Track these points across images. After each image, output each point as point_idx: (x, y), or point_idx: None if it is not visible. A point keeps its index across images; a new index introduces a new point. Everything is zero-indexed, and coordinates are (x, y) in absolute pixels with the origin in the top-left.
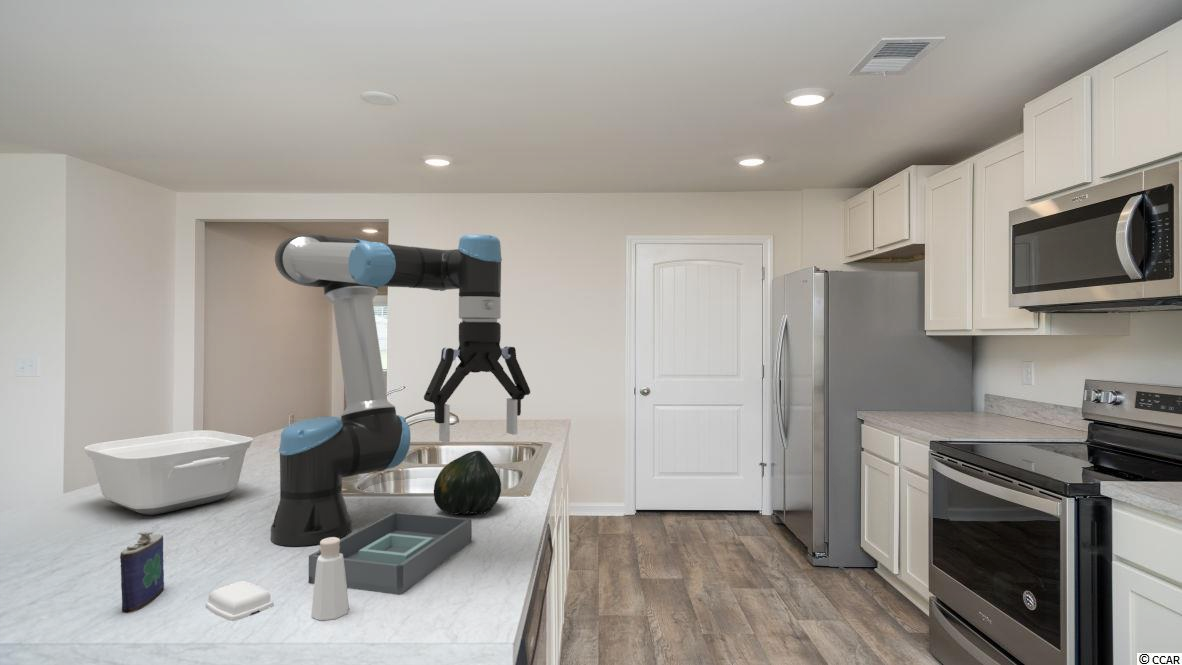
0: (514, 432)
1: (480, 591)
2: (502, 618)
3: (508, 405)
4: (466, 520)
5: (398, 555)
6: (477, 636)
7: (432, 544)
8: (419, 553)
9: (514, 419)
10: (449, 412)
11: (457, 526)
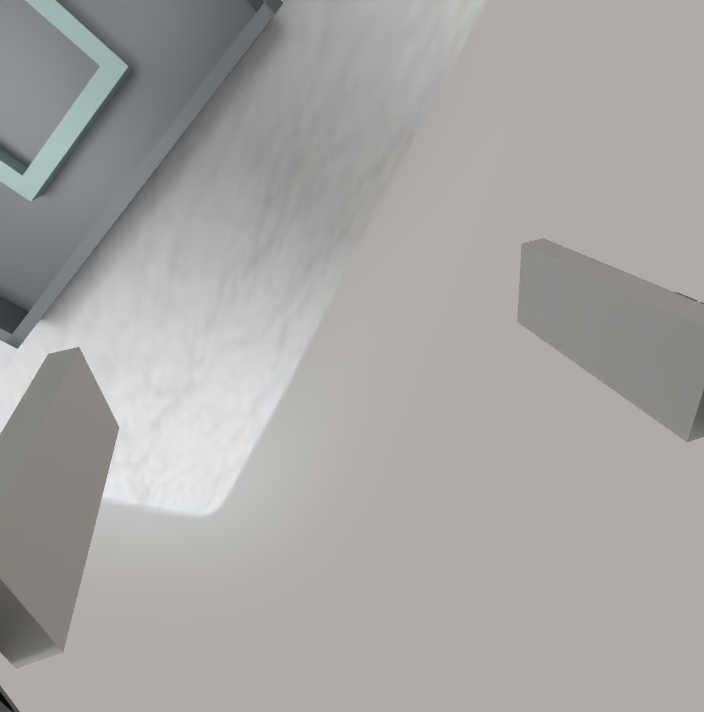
0: (528, 325)
1: (218, 360)
2: (230, 461)
3: (658, 337)
4: (261, 13)
5: (4, 183)
6: (179, 498)
7: (112, 219)
8: (70, 277)
9: (578, 362)
10: (77, 587)
11: (216, 71)
